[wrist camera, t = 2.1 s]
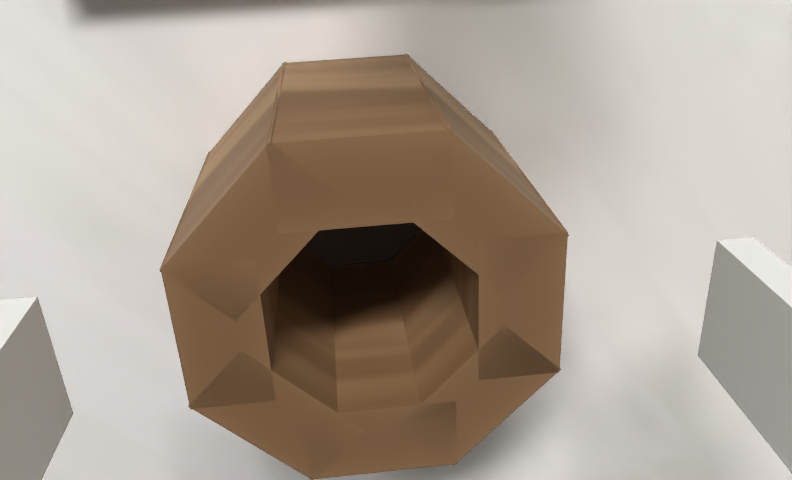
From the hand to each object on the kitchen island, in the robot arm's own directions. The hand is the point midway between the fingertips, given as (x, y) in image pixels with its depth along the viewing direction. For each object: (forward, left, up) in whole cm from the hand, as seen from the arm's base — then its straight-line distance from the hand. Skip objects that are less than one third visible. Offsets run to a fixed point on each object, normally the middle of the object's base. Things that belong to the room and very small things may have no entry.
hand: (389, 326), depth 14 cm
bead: (0, 0, -8) cm, 8 cm away
